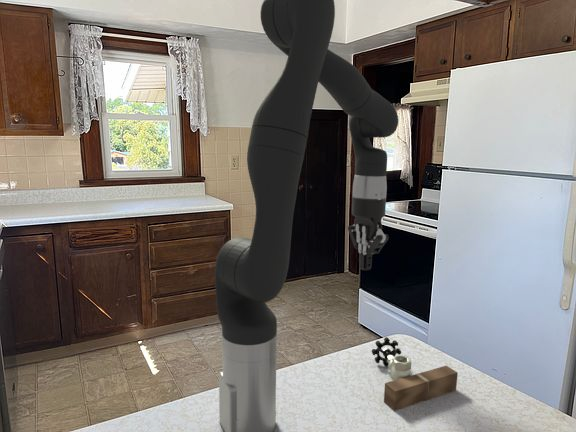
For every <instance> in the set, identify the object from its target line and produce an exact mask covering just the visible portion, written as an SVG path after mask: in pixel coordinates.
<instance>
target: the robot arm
mask: <svg viewBox="0 0 576 432" xmlns="http://www.w3.org/2000/svg"><path fill="white" fill-rule="evenodd" d="M335 7H336V6H335V0H263V1H262V3H261V6H260V23H261V26H262V29H263V32H264V34H265V35H266V36H267V38H268V39H269V41H270V42H271V43H273V45H275V47H277V49H279V50H280V51H281V52H282V53H284V54H285V55H286V56H288V57H287V60H286V63H285V65H284V67H283V69H282V71H281V73H280V75H279V76H278V78H277V79H276V81H275V83H274V84H273V86H272V87H271V88H270V90H269V92H268V93H267V94H266V95H265V97H264V98H263V100H262V102H261V104H260V106H259V107H258V108H257V111H256V113H255V115H254V117H253V121H252V124H251V130H250V136H249V141H248V147H247V152H246V161H247V162H246V163H247V171H248V175H249V180H250V183H251V189H252V193H253V197H254V201H255V218H254V219H255V221H254V228H253V232H252V237H251V238H248V237H234V238H232V239H230V240H228V241H226V242H225V243H224V244H223V245H222V246H221V248H220V250H219V252H218V254H217V257H216V259H215V265H214V268H215V269H214V287H215V300H216V313H217V317H218V318H217V319H218V320H219V322H220V326H221V333H222V335H221V336H222V337H221V338H222V339H221V340H222V342H221V346H222V348H221V349H222V352H221V353H222V357H221V358H222V361H221V362H222V371H220V372H219V374H218V389H219V390H218V392H219V393H218V394H219V395H218V398H219V399H218V401H219V402H218V403H219V405H218V406H219V411H218V412H219V424H220V425H221V427H222V430H223V431H224V432H274V430H275V429H276V424H277V423H276V422H277V421H276V417H277V404H276V403H277V341H278V340H277V337H278V335H277V333H278V324H277V323H278V322H277V318H276V315H275V313H274V312H273V311H272V310H271V309H270V308H269V306H268V305H267V304H266V303H268V302H270V301H272V300H274V299H275V298H277V296H278V295H279V294H280V292H281V290H282V289H283V288H284V285H285V282H286V280H287V276H288V272H289V266H290V258H291V257H290V256H291V255H290V254H291V244H292V232H293V223H294V222H293V221H294V213H295V207H296V201H297V193H298V188H299V182H300V176H301V171H302V167H303V162H304V159H305V153H306V148H307V143H308V137H309V131H310V123H311V118H312V113H313V107H314V102H315V98H316V93H317V89H318V85H319V84H320V85H321V86H322V87H323V89H325V90H326V91H327V92H328V93H329V95H331V97H332V98H333V100H334V101H335V102H336V104H337V105H339V108H341V109H342V111H343V112H344V113H345V114H347V115H348V116H349V119H348V126H349V133H350V138H351V142H352V145H353V152H354V157H355V159H354V160H355V161H354V177H353V183H352V198H351V199H352V201H351V215H352V216H353V217H355V218H354V221H353V224H352V225H349V226H347V231H348V234H349V236H350V239H351V242H352V245H353V248H354V249H355V250H358V254H359V263H358V265H359V269H360V270H362V271H370V270H371V269H372V265H373V264H372V263H373V255H374V254H380V253H381V252H380V251H381V250H382V249H383V248H384V246H385V245H386V243H387V242H388V241H389V239H390V237H389V234H388V233H386V234H385V233H384V232H383V230H382V229H383V223H382V218H384V217H385V216H386V208H387V207H386V205H387V203H386V202H387V189H388V186H387V183H388V182H387V169H388V167H387V166H388V154H387V151H386V150H385V149H382V148H377V147H374V146H373V144H372V142H371V138H388V137H391V136H392V135H393V134H395V132H396V131H397V129H398V126H399V114H398V112H397V110H396V108H395V107H394V106H393V104H392V103H391V102H390V101H389V100H388V99H386V98H385V97H383V95H381V94H380V93H378V92H377V91H375V90H374V89H372V88H371V86H370V84H369V83H368V81H367V80H366V79H365V77H364V76H363V74H362V73H361V72H360V71H359V69H357V67H356V66H355V65H354V64H352V63H351V62H350V61H348V60H346V59H344V57H342V56H340V55H338V54H337V53H335V52H333V51H332V50H331V49H329V46H330V42H331V38H332V35H333V29H334V25H335V16H336V9H335Z"/></svg>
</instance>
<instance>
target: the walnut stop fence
mask: <svg viewBox="0 0 576 432" xmlns="http://www.w3.org/2000/svg"><path fill="white" fill-rule="evenodd" d="M458 373H459V372H457V371H456V370H454V369H453V368H452V367H449V366H447V365H444V366H443V365H442V366H440V367H436V368H433V369H429V370H426V371H423V372H418V373H415V374H411V376H408V377H404V378H401V379H398V380H394V381H391V380H390V381H388V382H385V383H384V393H383V403H385V405H387V406H388V407H389V408H390V409H391V410H392V411H393V412H395V411H398V410H401V409H404V408H408V407H410V406H413V405H417V404H419V403H422V402H427V401H428V400H429V401H430V400H431V399H436V398H438V397H440V396H441V397H442V396H444V395H447V394H450V393H453V392H455V391H457V384H458Z"/></svg>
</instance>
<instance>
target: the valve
mask: <svg viewBox="0 0 576 432" xmlns="http://www.w3.org/2000/svg"><path fill="white" fill-rule="evenodd" d="M375 345H376V347H377V348H376V349H375V348H372V349H371V354H372V355H373V356H375V357H374V361H375V364H381V363H380V361H382V364H383V365H384V367H388V369H389V375H390V382H391V381H394V380H398V379H401V378H404V377H408V376H411V375H412V371H411V369H412V360H411V358H409V357H408V356H406V355H401V354H402V350H401V349H400V348H398V346H399V342H398V341H397V340H393V341H392V342H391V340H390V338H389V337H384V339H383V342H381V341H380V340H376V341H375ZM385 346H390V347H391V348H392V350H391V349H390V348H388V347H385ZM383 347H385V348H383ZM382 348H383V349H382ZM380 353H381V354H382V355H383V356H381V355H380Z"/></svg>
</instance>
